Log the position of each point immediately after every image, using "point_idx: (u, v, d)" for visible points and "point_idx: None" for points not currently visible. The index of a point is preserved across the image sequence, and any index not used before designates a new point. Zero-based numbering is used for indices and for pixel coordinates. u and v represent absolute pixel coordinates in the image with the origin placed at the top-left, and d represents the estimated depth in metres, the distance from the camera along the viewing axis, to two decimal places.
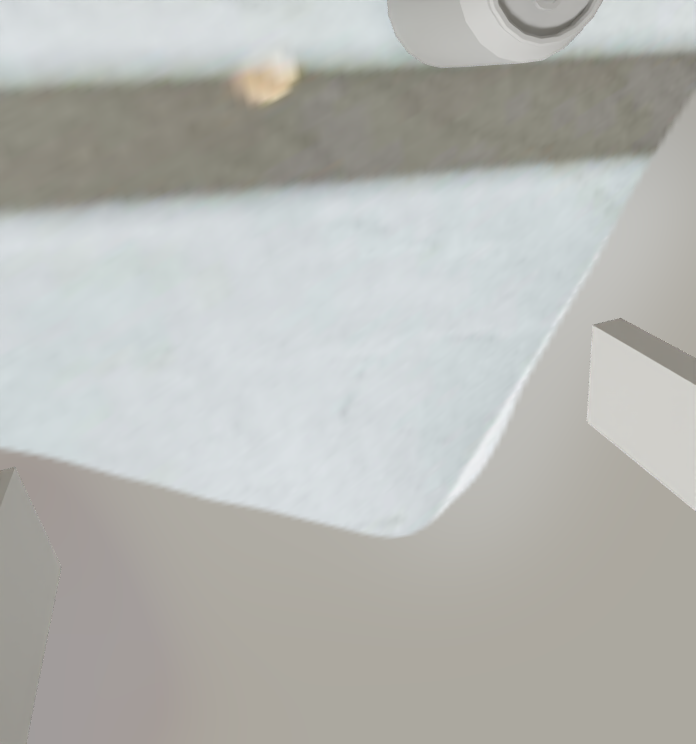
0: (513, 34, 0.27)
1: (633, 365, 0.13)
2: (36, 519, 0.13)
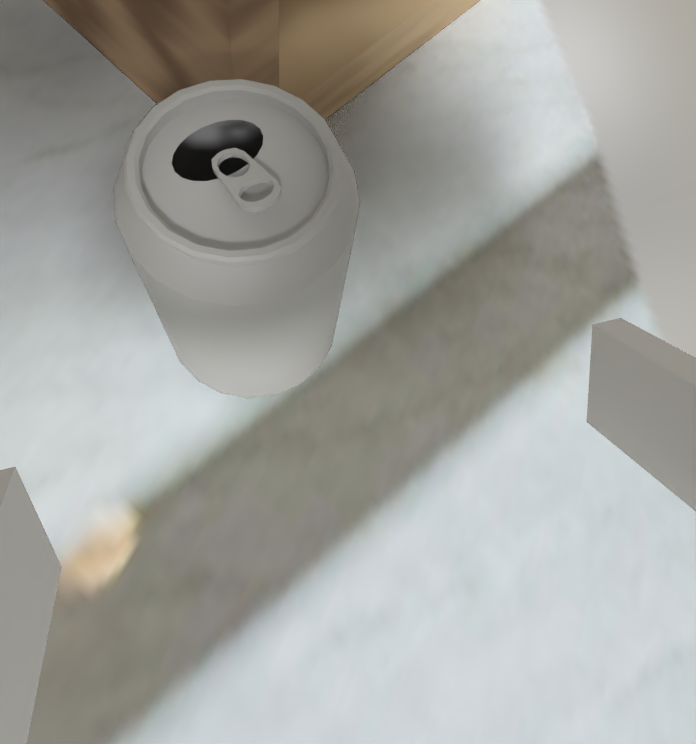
0: (247, 258, 0.17)
1: (633, 365, 0.13)
2: (37, 518, 0.13)
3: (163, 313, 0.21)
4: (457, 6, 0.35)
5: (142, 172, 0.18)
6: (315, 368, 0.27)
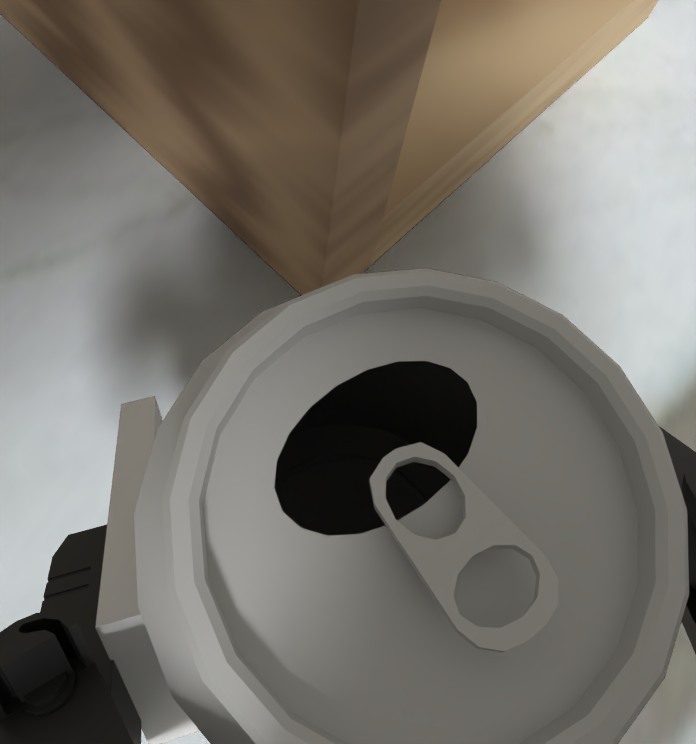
0: None
1: None
2: None
3: None
4: (611, 40, 0.25)
5: (206, 516, 0.07)
6: None
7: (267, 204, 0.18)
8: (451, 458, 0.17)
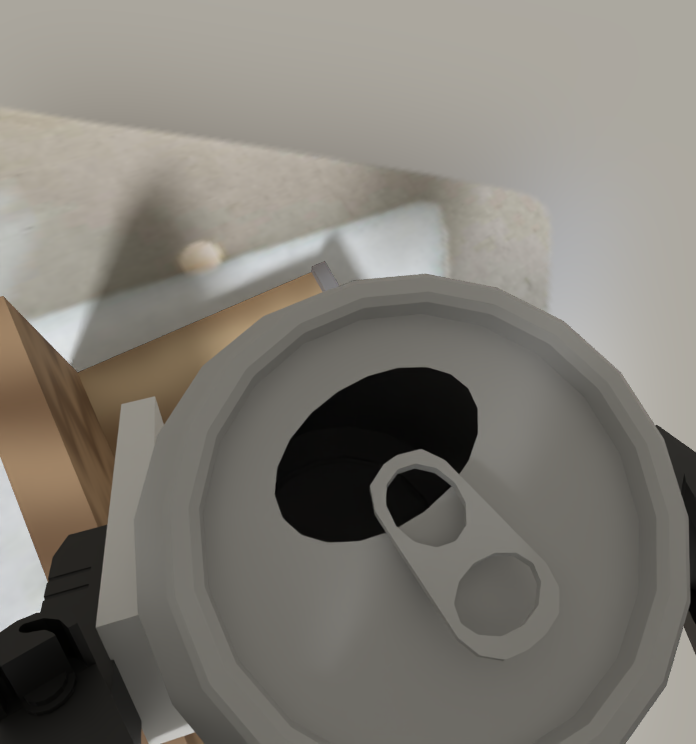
0: None
1: None
2: None
3: None
4: None
5: (206, 523, 0.07)
6: None
7: None
8: (451, 461, 0.17)
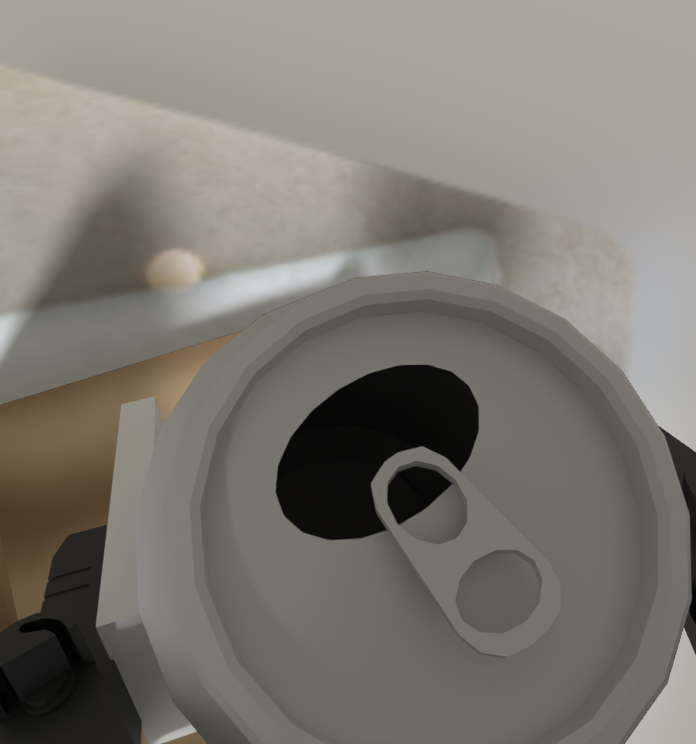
0: None
1: None
2: None
3: None
4: None
5: (207, 521, 0.07)
6: None
7: None
8: (452, 460, 0.17)
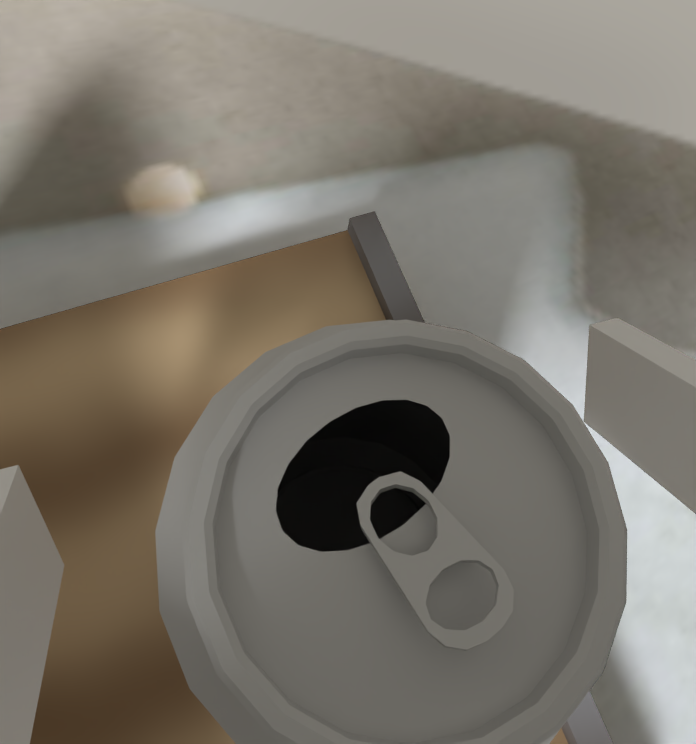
0: None
1: (629, 365, 0.13)
2: (39, 516, 0.13)
3: None
4: None
5: (217, 535, 0.09)
6: None
7: None
8: (440, 470, 0.19)
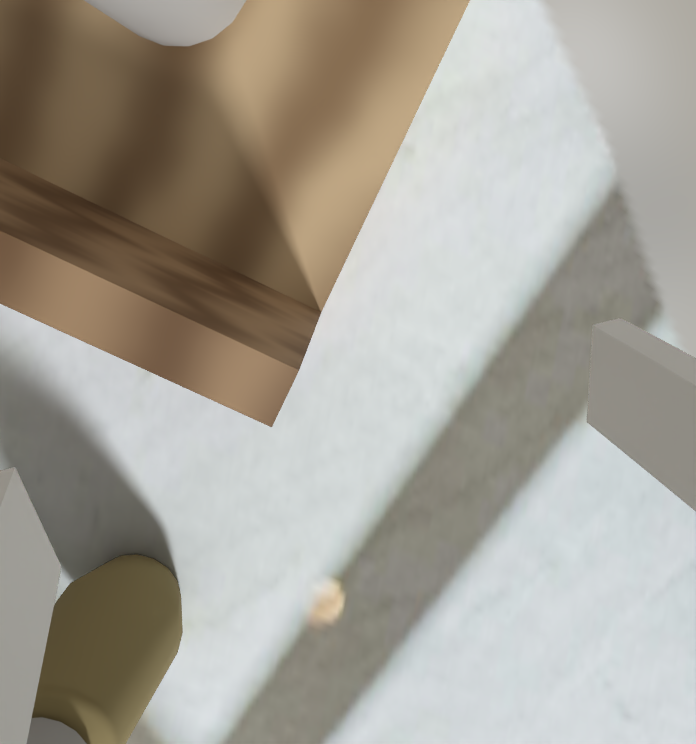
0: None
1: (633, 365, 0.13)
2: (36, 519, 0.13)
3: (126, 10, 0.23)
4: None
5: None
6: None
7: None
8: None
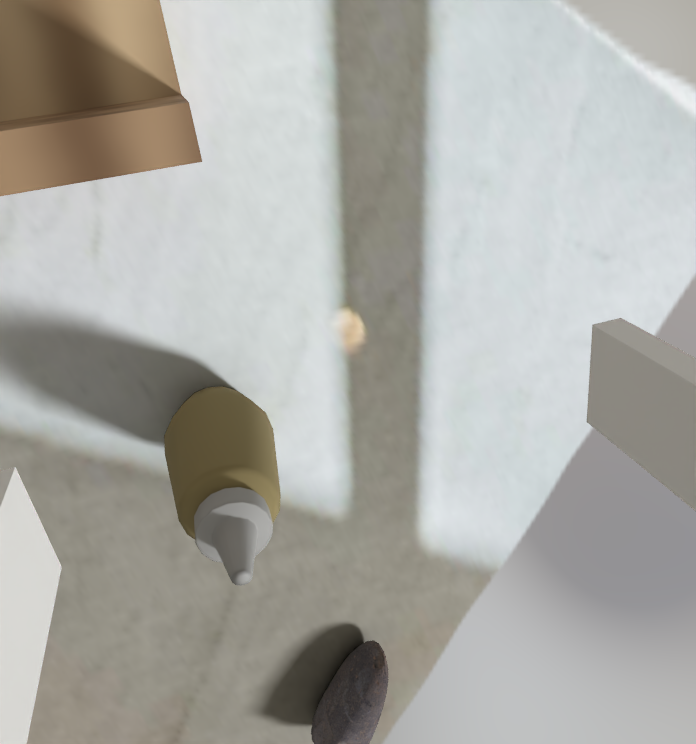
0: None
1: (633, 365, 0.13)
2: (36, 519, 0.13)
3: None
4: None
5: None
6: None
7: None
8: None
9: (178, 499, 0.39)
